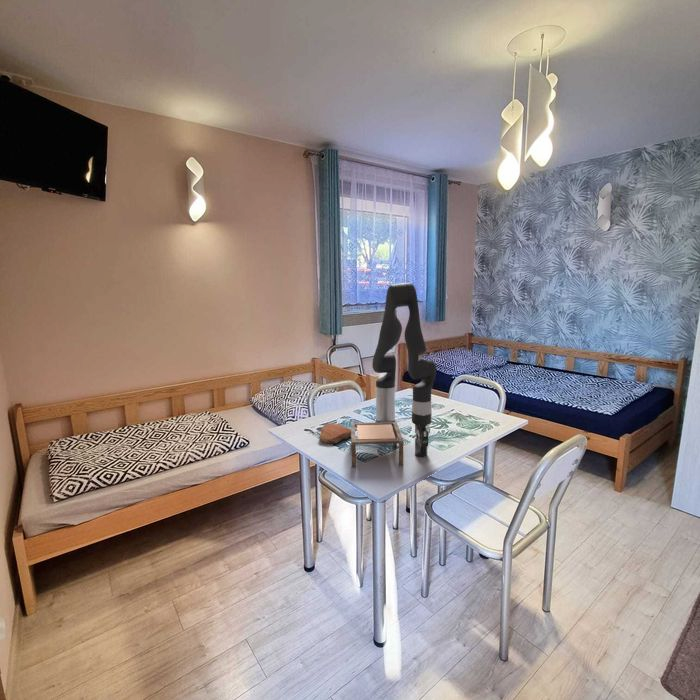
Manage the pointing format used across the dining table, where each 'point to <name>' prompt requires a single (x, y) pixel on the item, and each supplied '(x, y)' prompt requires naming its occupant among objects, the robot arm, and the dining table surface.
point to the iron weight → (418, 448)
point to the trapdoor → (375, 432)
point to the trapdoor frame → (393, 441)
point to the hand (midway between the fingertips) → (421, 450)
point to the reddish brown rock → (334, 433)
